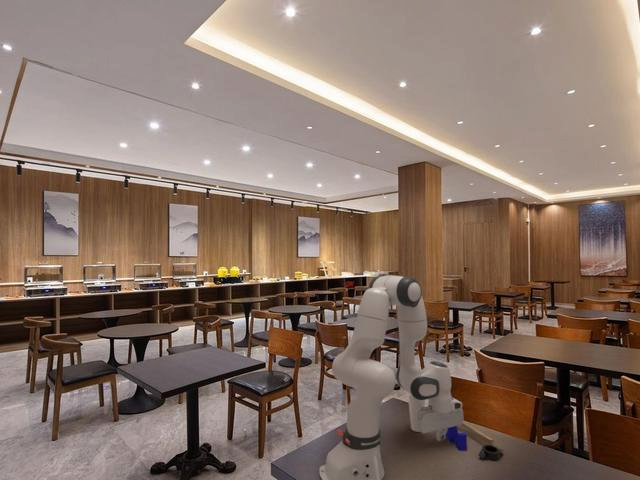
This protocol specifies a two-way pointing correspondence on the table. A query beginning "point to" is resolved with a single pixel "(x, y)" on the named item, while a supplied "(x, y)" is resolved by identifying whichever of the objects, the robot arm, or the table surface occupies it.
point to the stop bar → (475, 434)
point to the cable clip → (457, 438)
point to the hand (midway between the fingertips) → (440, 439)
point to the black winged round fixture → (490, 453)
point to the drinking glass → (415, 411)
